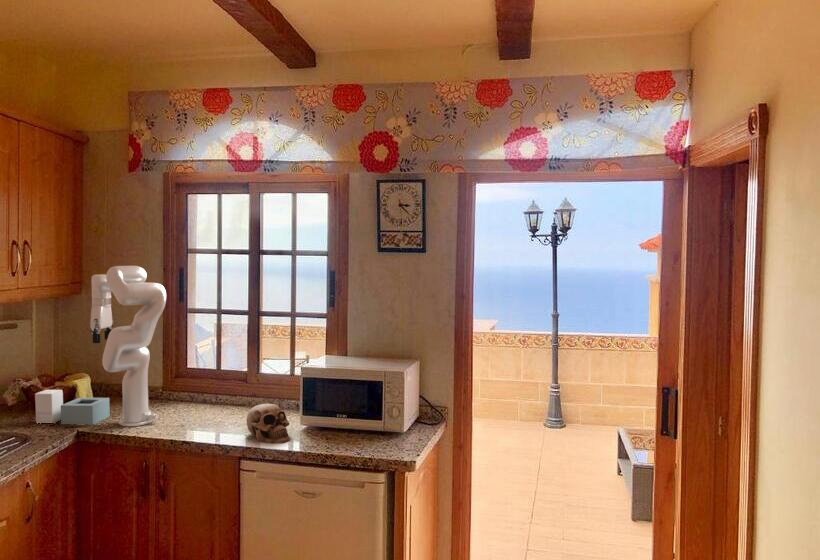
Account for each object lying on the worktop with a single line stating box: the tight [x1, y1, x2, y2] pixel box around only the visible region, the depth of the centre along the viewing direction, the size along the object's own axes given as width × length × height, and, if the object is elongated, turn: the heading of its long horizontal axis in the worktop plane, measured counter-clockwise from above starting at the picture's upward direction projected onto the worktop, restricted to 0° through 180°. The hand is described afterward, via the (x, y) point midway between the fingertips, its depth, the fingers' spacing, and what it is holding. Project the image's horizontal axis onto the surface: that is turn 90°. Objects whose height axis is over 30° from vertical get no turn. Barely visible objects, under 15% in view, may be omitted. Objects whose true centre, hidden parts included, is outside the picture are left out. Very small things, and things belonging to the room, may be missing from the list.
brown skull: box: [245, 403, 291, 444], centre depth 234 cm, size 16×17×13 cm
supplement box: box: [34, 389, 64, 425], centre depth 254 cm, size 7×7×13 cm
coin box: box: [60, 397, 111, 426], centre depth 255 cm, size 13×13×8 cm
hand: (102, 341), depth 272 cm, fingers open, 9 cm apart
